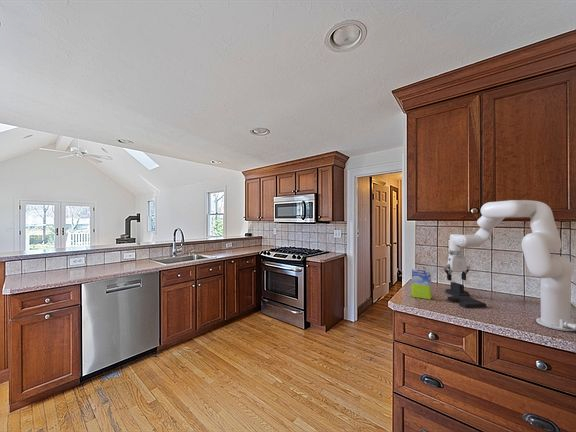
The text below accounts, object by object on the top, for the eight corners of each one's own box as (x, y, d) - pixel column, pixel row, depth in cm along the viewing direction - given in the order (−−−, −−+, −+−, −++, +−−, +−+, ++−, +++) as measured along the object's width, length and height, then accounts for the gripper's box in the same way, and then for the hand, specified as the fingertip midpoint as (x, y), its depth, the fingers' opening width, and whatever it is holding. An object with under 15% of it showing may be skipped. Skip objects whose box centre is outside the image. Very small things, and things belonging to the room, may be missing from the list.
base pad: (486, 307, 140) (486, 303, 140) (465, 307, 140) (465, 304, 140) (466, 299, 154) (466, 295, 154) (447, 299, 154) (447, 296, 154)
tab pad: (473, 297, 158) (473, 285, 158) (458, 297, 157) (458, 286, 157) (459, 291, 170) (459, 281, 170) (445, 292, 169) (445, 281, 169)
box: (431, 298, 157) (431, 269, 157) (430, 300, 153) (430, 271, 153) (412, 295, 163) (412, 268, 163) (411, 296, 159) (411, 269, 159)
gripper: (447, 254, 159) (447, 281, 160) (474, 254, 161) (473, 281, 161) (439, 252, 167) (439, 278, 167) (464, 252, 168) (464, 278, 168)
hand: (456, 280), depth 164 cm, fingers open, 9 cm apart
